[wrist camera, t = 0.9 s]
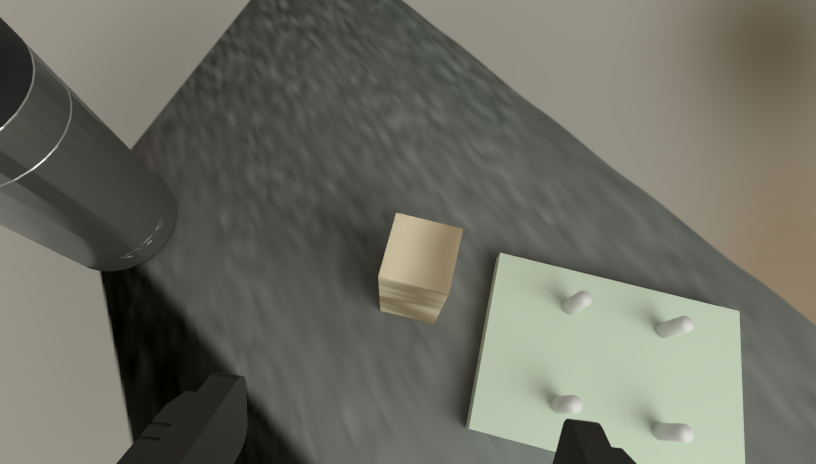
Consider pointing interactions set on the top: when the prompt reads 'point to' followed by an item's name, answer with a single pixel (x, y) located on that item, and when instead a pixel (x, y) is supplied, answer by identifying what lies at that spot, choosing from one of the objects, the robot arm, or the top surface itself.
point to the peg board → (608, 366)
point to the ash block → (418, 267)
